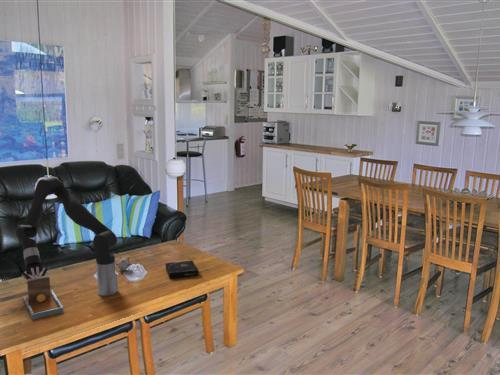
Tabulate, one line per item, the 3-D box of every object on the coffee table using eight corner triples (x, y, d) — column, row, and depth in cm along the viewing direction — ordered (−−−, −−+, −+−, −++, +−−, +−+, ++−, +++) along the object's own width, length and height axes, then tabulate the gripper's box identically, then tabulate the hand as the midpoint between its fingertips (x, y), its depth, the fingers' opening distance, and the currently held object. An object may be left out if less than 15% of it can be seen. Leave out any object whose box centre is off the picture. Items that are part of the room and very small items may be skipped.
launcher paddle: (28, 299, 226) (26, 279, 223) (49, 294, 231) (48, 275, 229) (29, 301, 223) (27, 281, 221) (50, 296, 229) (49, 276, 226)
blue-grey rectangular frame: (28, 310, 215) (28, 305, 214) (58, 303, 222) (58, 298, 222) (32, 319, 206) (32, 314, 205) (63, 312, 213) (63, 307, 213)
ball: (47, 300, 226) (46, 293, 225) (42, 303, 222) (41, 296, 221) (40, 299, 226) (39, 292, 225) (35, 303, 222) (34, 295, 222)
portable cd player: (192, 266, 275) (192, 260, 274) (197, 276, 259) (197, 270, 258) (165, 269, 269) (165, 262, 269) (169, 279, 254) (169, 273, 253)
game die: (125, 277, 264) (121, 269, 257) (115, 270, 268) (111, 261, 260) (136, 267, 269) (132, 258, 261) (126, 260, 272) (123, 251, 265)
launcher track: (23, 299, 227) (23, 296, 226) (52, 292, 234) (52, 290, 234) (28, 311, 214) (28, 308, 213) (59, 304, 221) (59, 301, 221)
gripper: (18, 257, 230) (24, 287, 222) (46, 252, 237) (52, 281, 230) (17, 263, 235) (23, 293, 228) (44, 258, 243) (51, 287, 235)
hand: (38, 287), depth 229 cm, fingers closed
